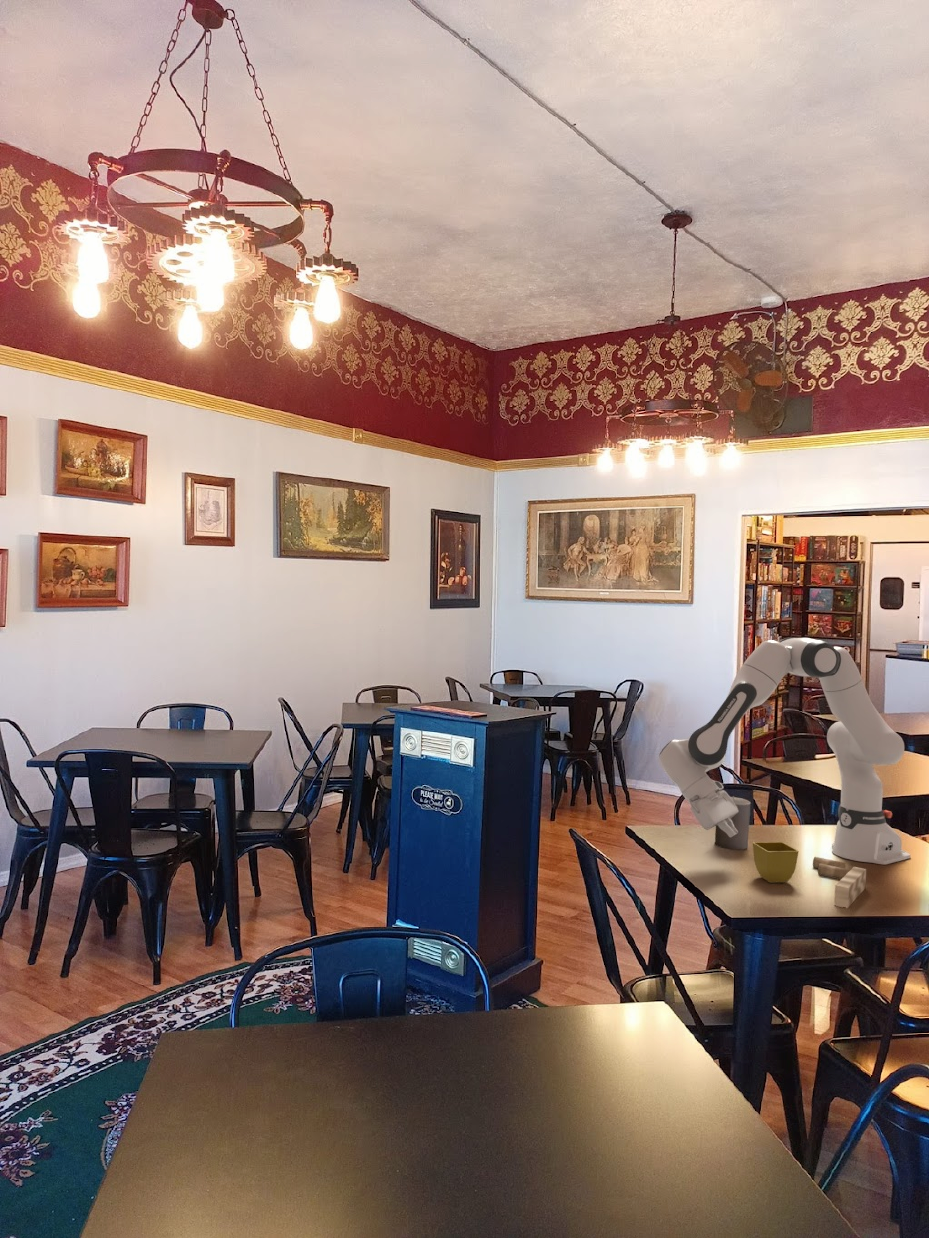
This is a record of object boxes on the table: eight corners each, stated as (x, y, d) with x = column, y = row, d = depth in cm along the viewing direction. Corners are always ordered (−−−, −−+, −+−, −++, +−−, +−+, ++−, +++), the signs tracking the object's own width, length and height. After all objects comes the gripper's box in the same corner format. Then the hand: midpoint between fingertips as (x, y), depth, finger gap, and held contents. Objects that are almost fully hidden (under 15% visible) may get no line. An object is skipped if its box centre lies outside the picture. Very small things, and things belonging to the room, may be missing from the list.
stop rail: (852, 885, 232) (853, 866, 231) (865, 888, 230) (866, 869, 230) (834, 905, 215) (835, 885, 215) (847, 908, 214) (848, 887, 213)
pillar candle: (709, 844, 266) (711, 795, 265) (722, 838, 273) (725, 790, 272) (740, 852, 259) (743, 801, 259) (753, 845, 267) (756, 796, 266)
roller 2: (817, 867, 239) (820, 861, 241) (818, 876, 240) (821, 870, 242) (849, 873, 234) (851, 867, 237) (849, 883, 235) (852, 876, 238)
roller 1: (813, 856, 246) (816, 856, 249) (812, 867, 246) (815, 867, 248) (844, 862, 242) (846, 862, 244) (842, 873, 241) (845, 873, 243)
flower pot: (766, 885, 229) (767, 851, 228) (750, 874, 237) (751, 841, 237) (797, 885, 230) (799, 851, 230) (780, 874, 239) (782, 841, 239)
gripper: (695, 792, 235) (729, 836, 230) (722, 781, 252) (755, 821, 247) (679, 806, 238) (712, 849, 233) (706, 794, 255) (738, 834, 249)
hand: (734, 835), depth 240 cm, fingers closed
